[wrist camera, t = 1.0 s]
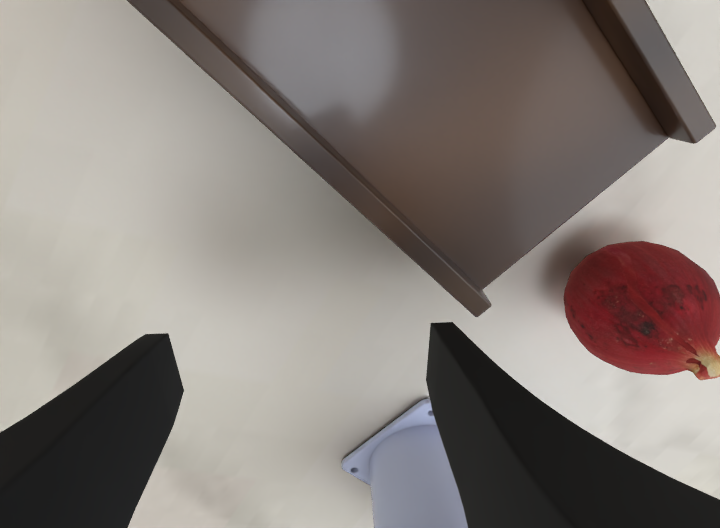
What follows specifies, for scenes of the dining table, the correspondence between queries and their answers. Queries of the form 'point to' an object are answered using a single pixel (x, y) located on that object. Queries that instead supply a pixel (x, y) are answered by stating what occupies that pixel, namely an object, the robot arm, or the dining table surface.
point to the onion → (645, 310)
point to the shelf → (450, 109)
